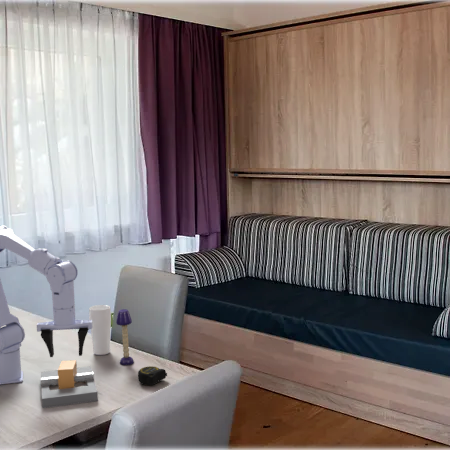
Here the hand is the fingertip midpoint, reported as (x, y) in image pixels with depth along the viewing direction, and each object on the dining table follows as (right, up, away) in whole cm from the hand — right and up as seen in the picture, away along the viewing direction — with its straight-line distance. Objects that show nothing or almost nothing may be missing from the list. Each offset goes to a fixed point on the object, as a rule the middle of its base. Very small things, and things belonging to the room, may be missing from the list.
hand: (66, 355), depth 174 cm
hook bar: (0, -7, +1) cm, 7 cm away
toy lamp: (+13, -7, +22) cm, 26 cm away
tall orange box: (0, -9, +1) cm, 9 cm away
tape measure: (+23, -9, +6) cm, 25 cm away
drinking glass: (+4, -6, +31) cm, 32 cm away
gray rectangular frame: (0, -10, +1) cm, 10 cm away
